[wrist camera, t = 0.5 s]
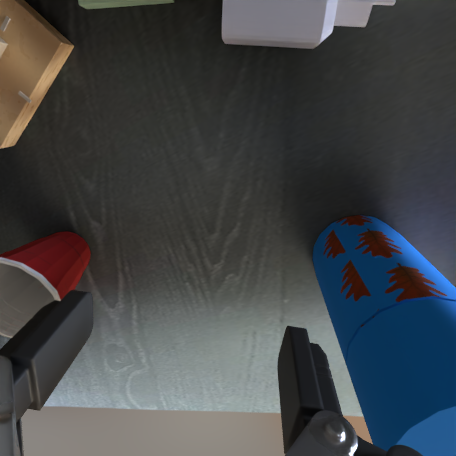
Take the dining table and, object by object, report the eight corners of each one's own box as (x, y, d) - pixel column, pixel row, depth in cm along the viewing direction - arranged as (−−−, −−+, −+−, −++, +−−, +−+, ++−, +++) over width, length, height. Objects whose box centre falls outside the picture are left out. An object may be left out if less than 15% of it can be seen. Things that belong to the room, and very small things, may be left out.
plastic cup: (37, 280, 46) (-32, 340, 35) (25, 209, 42) (-58, 252, 30) (111, 289, 45) (65, 353, 34) (107, 219, 41) (53, 265, 30)
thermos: (391, 290, 42) (556, 529, 19) (308, 289, 43) (370, 516, 20) (406, 213, 38) (642, 399, 15) (314, 213, 39) (402, 389, 16)
